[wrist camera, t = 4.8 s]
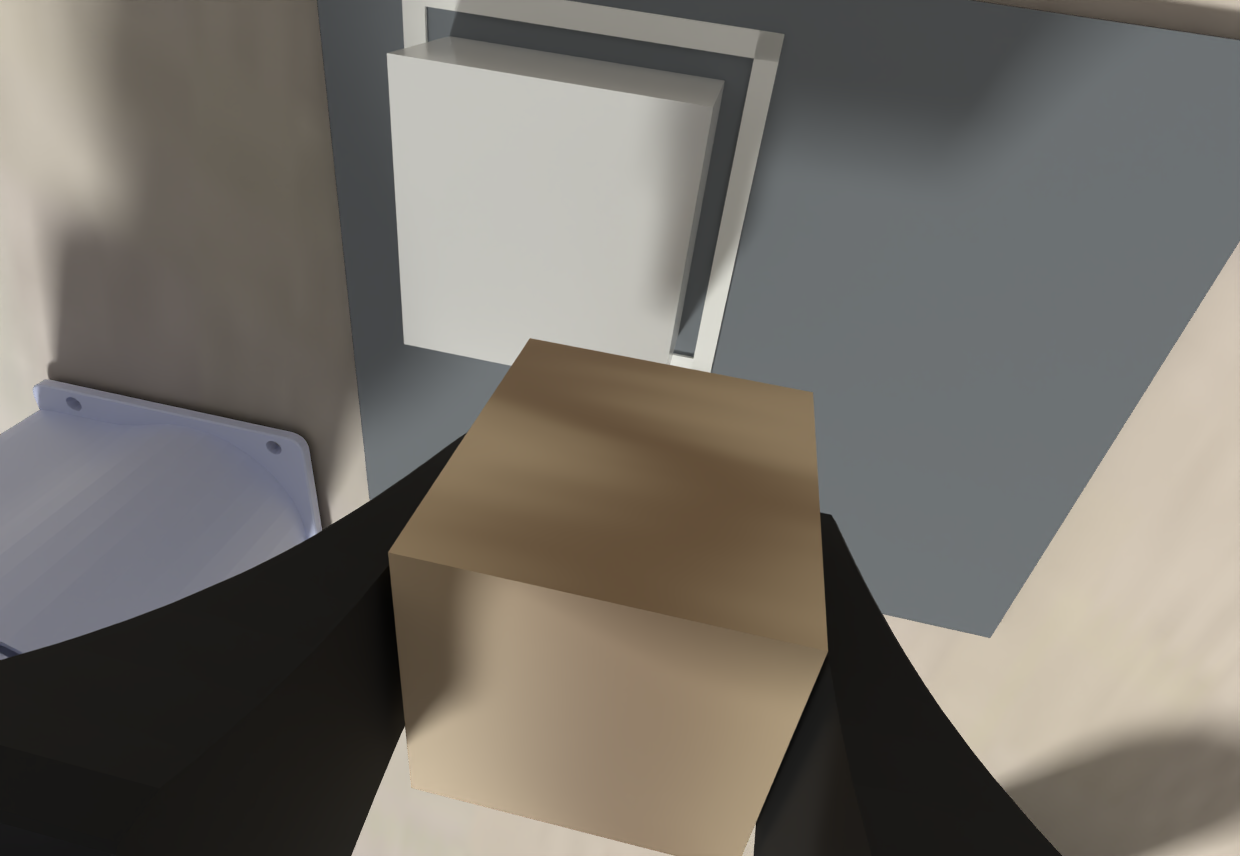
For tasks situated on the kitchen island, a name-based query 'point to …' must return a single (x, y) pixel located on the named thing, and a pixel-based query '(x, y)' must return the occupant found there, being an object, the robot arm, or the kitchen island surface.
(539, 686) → the oak block
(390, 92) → the block
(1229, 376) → the kitchen island surface
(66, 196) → the kitchen island surface
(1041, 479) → the slate mat
